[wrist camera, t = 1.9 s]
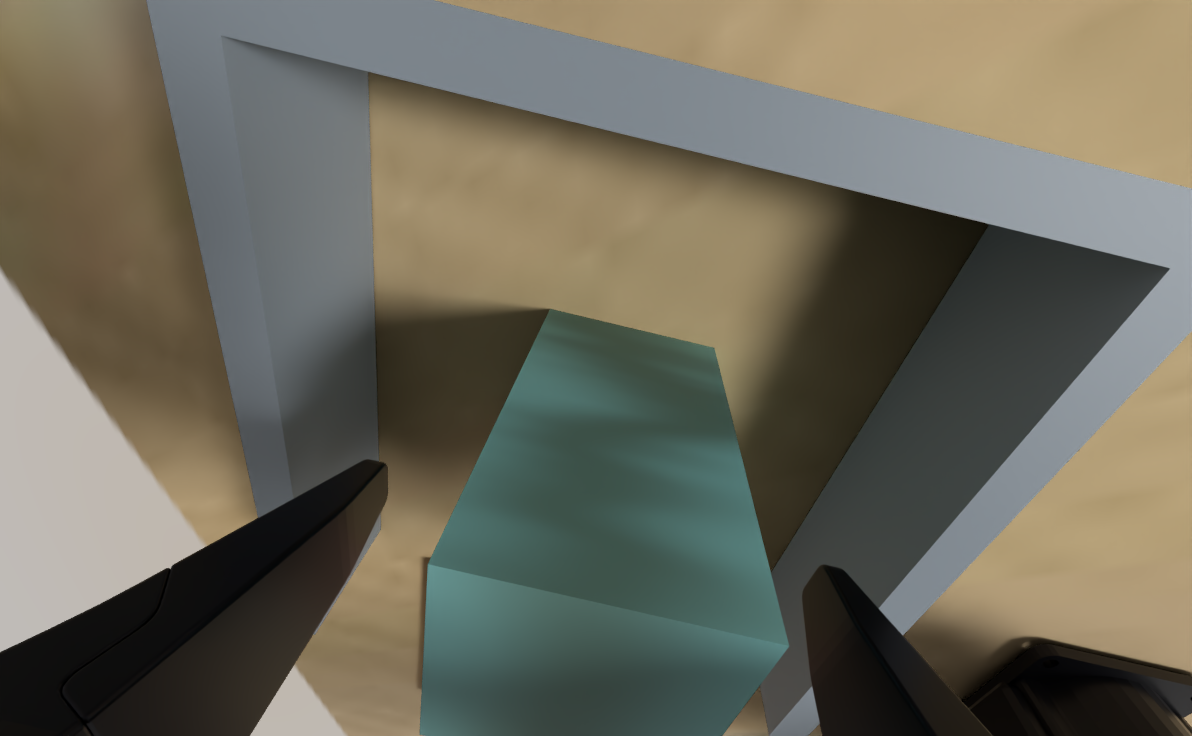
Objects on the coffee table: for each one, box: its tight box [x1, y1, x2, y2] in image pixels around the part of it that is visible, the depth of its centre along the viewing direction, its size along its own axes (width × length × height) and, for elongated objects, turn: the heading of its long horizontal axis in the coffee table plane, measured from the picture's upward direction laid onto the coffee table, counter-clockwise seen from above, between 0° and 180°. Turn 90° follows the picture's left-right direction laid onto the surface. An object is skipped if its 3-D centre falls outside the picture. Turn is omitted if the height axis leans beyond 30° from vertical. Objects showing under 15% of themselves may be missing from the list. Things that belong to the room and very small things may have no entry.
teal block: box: [420, 309, 789, 736], centre depth 10 cm, size 4×4×8 cm
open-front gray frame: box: [146, 0, 1192, 736], centre depth 12 cm, size 16×16×4 cm
